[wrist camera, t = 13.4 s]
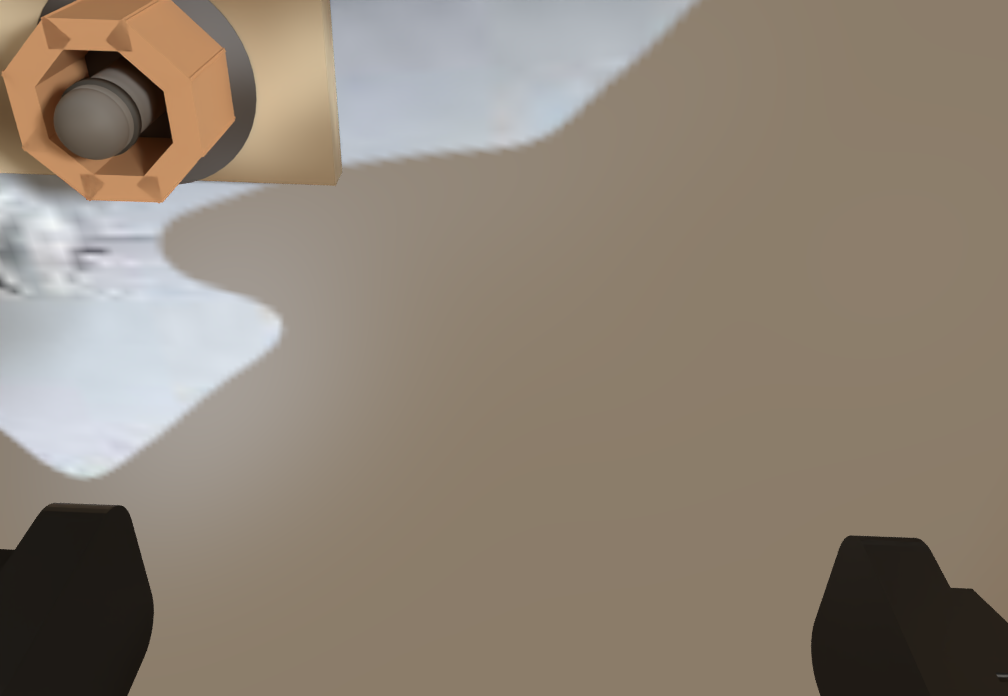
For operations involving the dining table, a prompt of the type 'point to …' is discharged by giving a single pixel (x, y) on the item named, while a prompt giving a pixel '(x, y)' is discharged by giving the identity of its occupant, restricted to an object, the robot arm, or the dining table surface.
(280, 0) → the post board
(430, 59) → the dining table surface
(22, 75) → the ring
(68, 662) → the robot arm
